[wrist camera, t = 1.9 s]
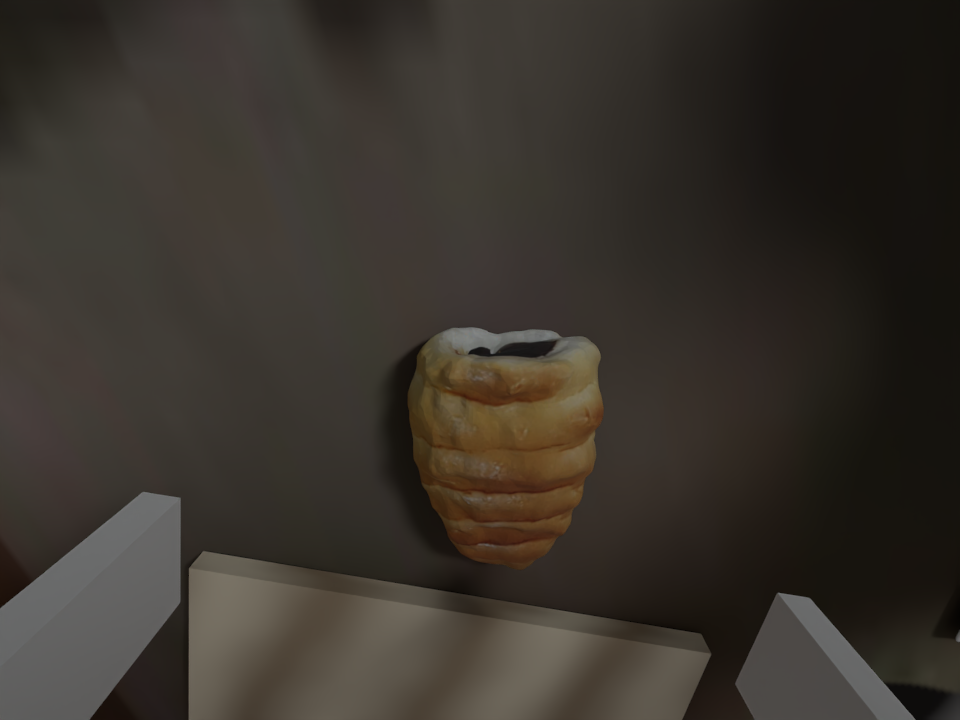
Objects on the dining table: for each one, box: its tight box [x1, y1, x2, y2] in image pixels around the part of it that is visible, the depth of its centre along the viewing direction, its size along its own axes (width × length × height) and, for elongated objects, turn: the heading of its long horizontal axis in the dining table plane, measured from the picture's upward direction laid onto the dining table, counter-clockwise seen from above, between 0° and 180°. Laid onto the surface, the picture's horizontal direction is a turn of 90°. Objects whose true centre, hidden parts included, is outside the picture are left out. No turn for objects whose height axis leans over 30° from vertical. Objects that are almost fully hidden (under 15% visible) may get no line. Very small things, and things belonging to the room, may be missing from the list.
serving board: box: [189, 551, 711, 720], centre depth 22 cm, size 22×14×1 cm, turn 79°
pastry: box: [407, 327, 604, 570], centre depth 17 cm, size 9×7×4 cm
